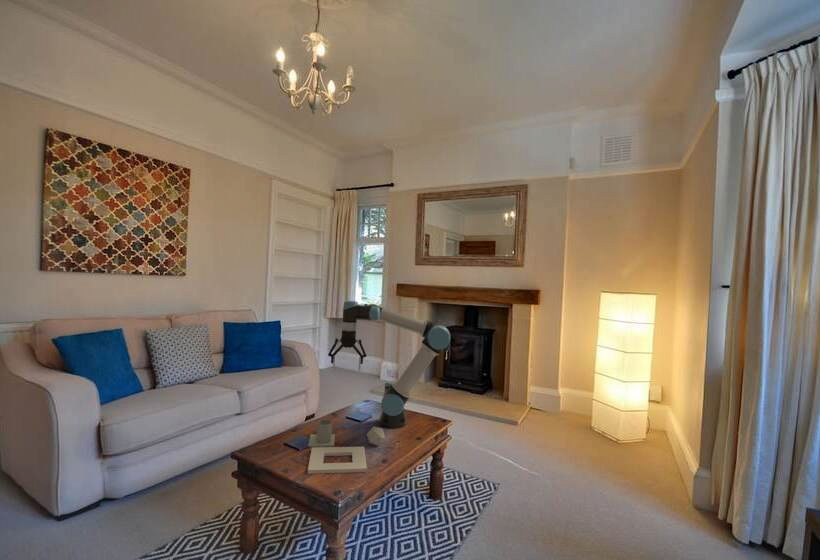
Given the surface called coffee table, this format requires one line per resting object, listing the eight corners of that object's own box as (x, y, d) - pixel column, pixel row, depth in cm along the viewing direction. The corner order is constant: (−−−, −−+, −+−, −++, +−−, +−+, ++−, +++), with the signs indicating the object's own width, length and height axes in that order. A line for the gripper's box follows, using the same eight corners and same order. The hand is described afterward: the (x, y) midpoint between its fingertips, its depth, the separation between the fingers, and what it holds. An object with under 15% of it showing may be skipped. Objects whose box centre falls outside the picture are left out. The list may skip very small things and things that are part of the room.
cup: (318, 444, 173) (319, 425, 173) (312, 436, 182) (313, 418, 182) (333, 442, 177) (334, 423, 177) (326, 434, 185) (328, 416, 185)
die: (387, 444, 181) (382, 424, 186) (385, 442, 174) (380, 422, 179) (371, 450, 181) (366, 430, 185) (369, 448, 173) (364, 427, 178)
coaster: (334, 435, 186) (334, 434, 186) (334, 446, 174) (334, 444, 174) (310, 436, 184) (310, 434, 184) (308, 446, 172) (308, 445, 172)
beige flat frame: (364, 449, 173) (364, 446, 173) (366, 471, 153) (366, 468, 153) (311, 450, 168) (312, 447, 168) (307, 473, 149) (307, 470, 149)
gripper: (371, 329, 201) (369, 368, 201) (325, 328, 196) (322, 367, 196) (372, 331, 193) (370, 371, 193) (324, 330, 189) (322, 371, 189)
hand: (346, 369), depth 195 cm, fingers open, 13 cm apart
